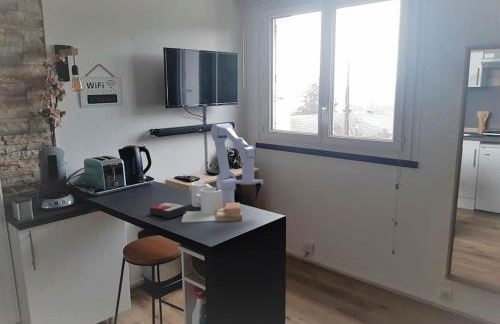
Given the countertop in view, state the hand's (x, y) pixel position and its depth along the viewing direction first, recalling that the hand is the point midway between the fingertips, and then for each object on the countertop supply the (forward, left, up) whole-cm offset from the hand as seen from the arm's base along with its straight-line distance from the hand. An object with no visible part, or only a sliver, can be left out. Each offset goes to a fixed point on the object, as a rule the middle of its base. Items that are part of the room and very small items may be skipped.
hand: (248, 198), depth 195 cm
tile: (-1, -8, -6) cm, 10 cm away
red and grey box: (-7, -40, -8) cm, 42 cm away
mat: (-1, -24, -8) cm, 25 cm away
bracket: (-15, -22, -9) cm, 28 cm away
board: (-1, -10, -8) cm, 13 cm away
